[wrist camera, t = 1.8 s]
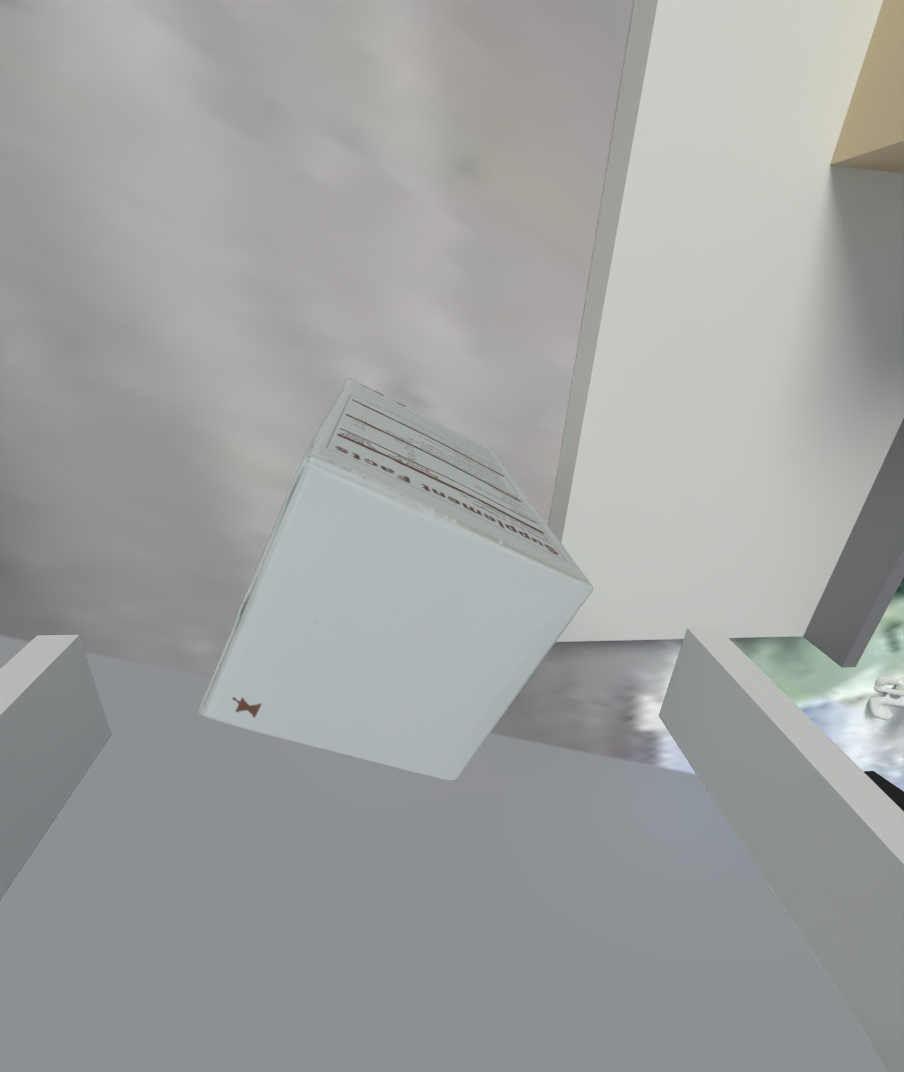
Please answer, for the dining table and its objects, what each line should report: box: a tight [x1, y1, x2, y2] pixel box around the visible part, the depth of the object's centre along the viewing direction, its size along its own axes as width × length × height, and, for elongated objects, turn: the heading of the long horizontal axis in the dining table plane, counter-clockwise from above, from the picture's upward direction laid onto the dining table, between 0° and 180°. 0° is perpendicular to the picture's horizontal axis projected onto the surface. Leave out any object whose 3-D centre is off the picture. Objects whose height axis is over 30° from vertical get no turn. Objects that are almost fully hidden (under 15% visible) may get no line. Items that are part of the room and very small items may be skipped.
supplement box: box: [199, 379, 593, 781], centre depth 17 cm, size 7×7×13 cm
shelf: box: [549, 0, 904, 667], centre depth 20 cm, size 16×30×5 cm, turn 176°
